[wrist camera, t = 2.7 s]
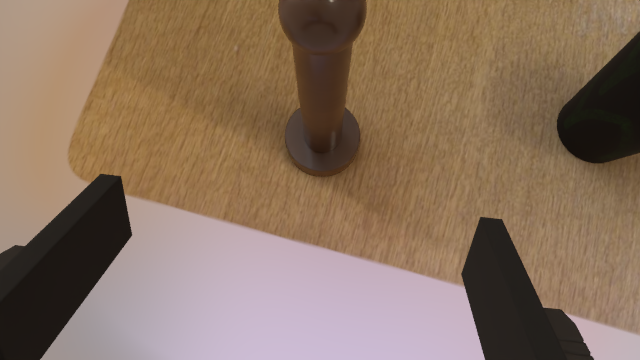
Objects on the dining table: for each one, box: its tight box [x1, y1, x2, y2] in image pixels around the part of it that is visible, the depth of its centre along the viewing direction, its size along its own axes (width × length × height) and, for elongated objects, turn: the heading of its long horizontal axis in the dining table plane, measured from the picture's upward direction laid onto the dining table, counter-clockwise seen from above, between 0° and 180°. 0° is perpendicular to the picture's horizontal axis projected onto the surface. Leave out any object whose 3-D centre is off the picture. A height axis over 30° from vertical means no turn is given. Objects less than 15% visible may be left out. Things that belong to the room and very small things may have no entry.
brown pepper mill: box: [278, 0, 367, 177], centre depth 25 cm, size 6×6×18 cm
